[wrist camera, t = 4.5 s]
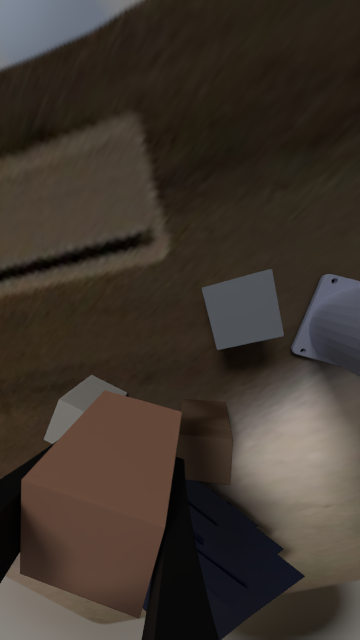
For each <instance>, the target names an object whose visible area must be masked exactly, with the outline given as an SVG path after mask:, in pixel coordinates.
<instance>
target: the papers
mask: <svg viewBox="0 0 360 640" xmlns="http://www.w3.org/2000/svg"><path fill="white" fill-rule="evenodd" d="M186 487H187V496H188V503H189V509H190V515H191V522H192V527H193V533H194V538H195V543H196V548H197V553H198V557H199V562H200V567H201V571H202V575H203V579H204V584H205V588H206V592H207V596H208V600H209V604H210V608H211V612H212V616H213V619H214V623H215V627H216V630H217V634H218V637H219V640H221V639H222V638H224V637H225V636H226V635H227V634H229V633H230V632H231V631H232V630H234V629H235V628H236V627H237V626H239V625H240V624H241V623H242V622H243V621H245V620H246V619H247V618H249V617H250V616H251V615H253V614H254V613H255V612H257V611H258V610H260V609H261V608H262V607H263V606H265V605H266V604H268V603H269V602H271V601H272V600H273V599H275V598H276V597H277V596H279V595H280V594H281V593H283V592H284V591H286V590H287V589H288V588H290V587H291V586H292V585H294V584H295V583H296V582H298V581H299V580H301V579H302V578H303V577H305V576H304V575H303V574H301V573H300V572H299V571H298V570H296V569H295V568H294V567H293V566H291V565H290V564H289V563H287V562H286V561H285V560H284V559H282V558H281V557H280V556H279V555H277V554H278V553H279V552H281V551H282V550H283V548H282V547H280V546H279V545H278V544H277V543H275V542H274V541H273V540H271V539H270V538H269V537H268V536H266V535H265V534H264V533H262V532H261V531H260V530H259V529H257V528H256V527H257V526H258V525H257V524H255V523H254V522H253V521H252V520H250V519H249V518H248V517H247V516H245V515H244V514H243V513H241V512H240V511H239V510H238V509H236V508H235V507H234V506H232V505H231V504H230V503H229V502H226V501H224V500H223V499H222V498H220V497H219V496H218V495H216V494H215V493H214V492H212V491H211V490H210V489H208V488H207V487H206V486H204V485H203V484H202V483H200V482H199V481H195V480H187V479H186ZM151 579H152V576H151ZM151 579H150V583H149V586H148V590H147V593H146V597H145V600H144V604H143V607H142V608H143V609H144V610H145V611H147V607H148V600H149V593H150V587H151Z"/></svg>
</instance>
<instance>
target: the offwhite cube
mask: <svg viewBox="0 0 360 640" xmlns="http://www.w3.org/2000/svg"><path fill="white" fill-rule="evenodd" d="M104 390H105V391H109V392H113V393H116V394H120V395H123V396H126V395H127V393H126V392H125V391H123V390H121V389H119V388H117V387H115V386H113V385H111V384H109V383H107V382H105V381H103V380H101V379H99V378H97V377H95V376H93V375H91V376H89V377H88V378H87V379H85V380H84V381H83V382H81V383H80V384H79V385H77V386H76V387H75V388H73V389H72V390H71V391H69V392H68V393H67V394H65V395H64V396H63V397H61V398H60V399H59V401H58V404H57V406H56V409H55V412H54V414H53V417H52V419H51V422H50V425H49V427H48V430H47V432H46V435H45V437H44V440H46V441H48V442H50V443H52V444H53V443H55V442H56V441H57V440H59V439H60V438H61V437H62V436H63V434H64V433H65V432H66V431H67V430H68V429H69V428H70V427H71V426H72V425H73V424H74V423H75V422H76V420H77V419H78V418H79V417H80V416H81V415H82V414H83V413H84V412H85V411H86V410H87V409H88V407H89V406H90V405H91V404H92V403H93V402H94V401H95V400H96V399H97V398H98V397H99V396H100V395H101V393H102V392H103V391H104Z"/></svg>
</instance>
